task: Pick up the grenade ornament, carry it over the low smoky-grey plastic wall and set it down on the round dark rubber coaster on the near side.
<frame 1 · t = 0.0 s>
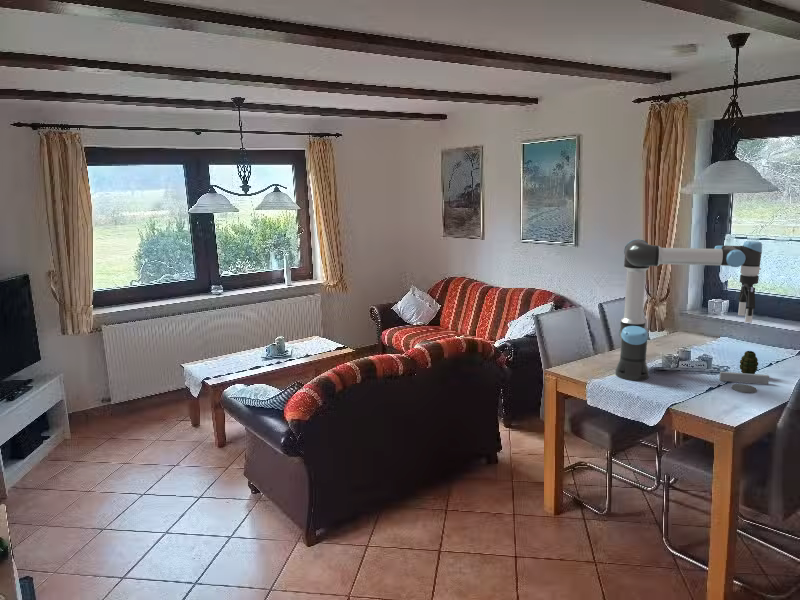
hand: (744, 318, 276), 28 cm above the table, fingers open, 13 cm apart
grenade: (747, 376, 280), on the table
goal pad: (743, 389, 263), on the table
low wall: (743, 381, 272), on the table
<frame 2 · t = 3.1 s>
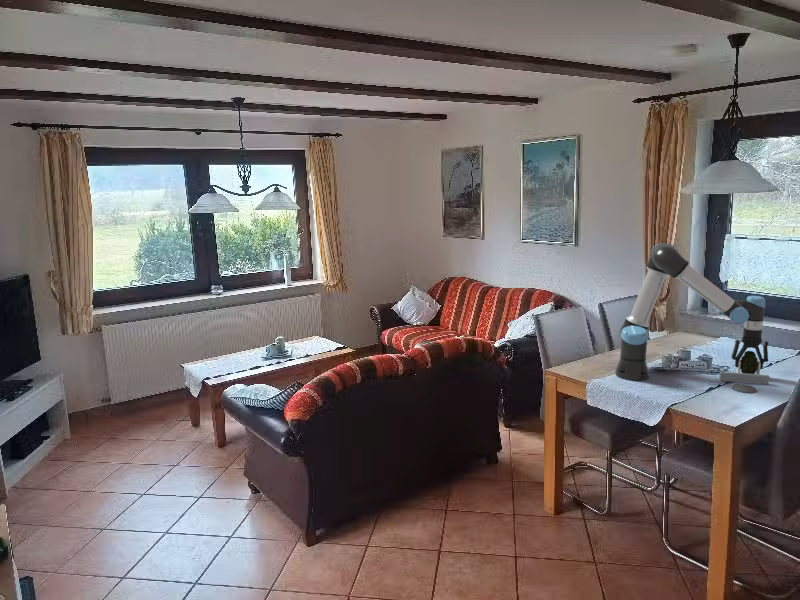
hand: (747, 374, 280), 1 cm above the table, fingers closed on grenade, 8 cm apart
grenade: (747, 376, 280), on the table, touching gripper
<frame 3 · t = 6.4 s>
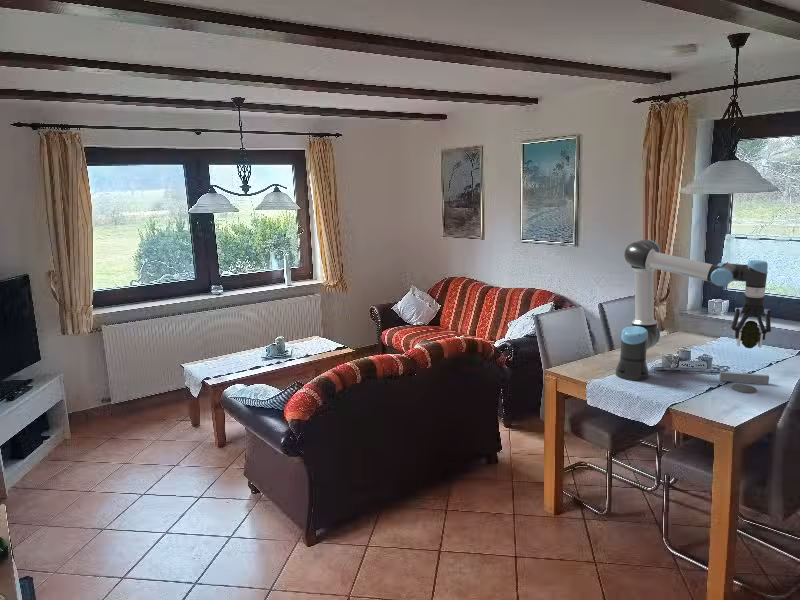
hand: (748, 346, 259), 20 cm above the table, fingers closed on grenade, 8 cm apart
grenade: (748, 347, 259), point 19 cm above the table, touching gripper
when the fingers open (3 cm above the table, at t = 9.8 s): grenade drops 1 cm, resting on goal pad.
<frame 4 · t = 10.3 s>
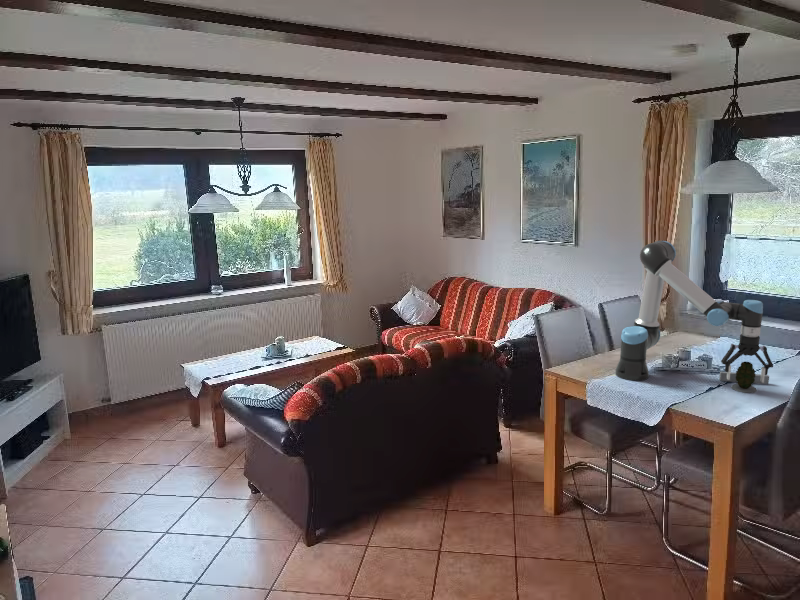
hand: (744, 380, 263), 4 cm above the table, fingers open, 13 cm apart
grenade: (743, 388, 263), resting on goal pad
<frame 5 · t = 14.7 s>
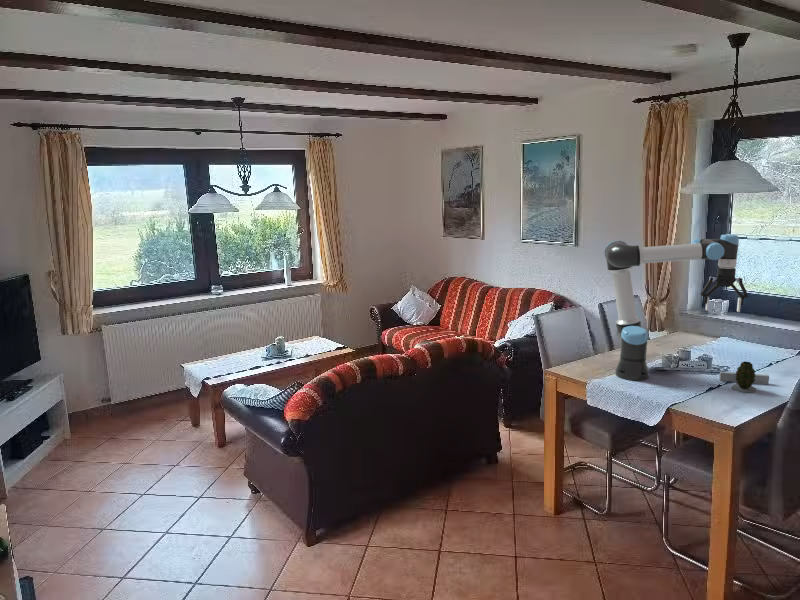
hand: (722, 310, 280), 31 cm above the table, fingers open, 13 cm apart
nothing on the table moved.
at the end: grenade 0.0 cm from the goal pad (horizontally); grenade resting on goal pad; the gripper is holding nothing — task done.
